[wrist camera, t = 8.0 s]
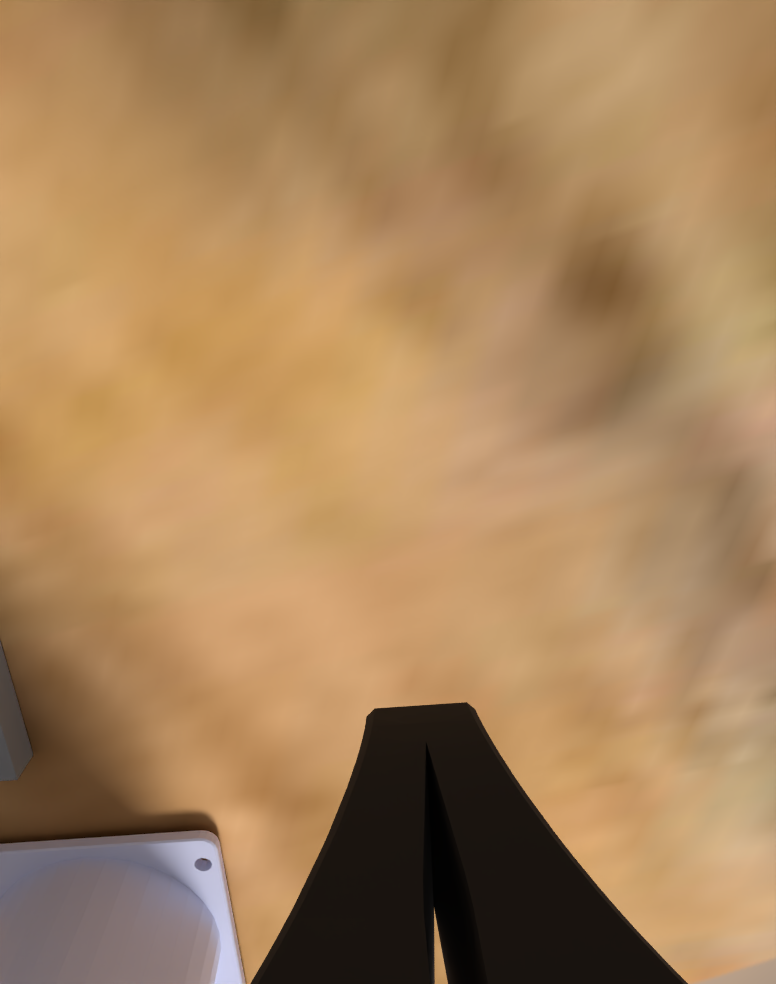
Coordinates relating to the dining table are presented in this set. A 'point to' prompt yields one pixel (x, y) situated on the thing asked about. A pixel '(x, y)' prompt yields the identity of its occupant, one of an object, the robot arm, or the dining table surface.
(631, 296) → the dining table surface
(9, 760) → the board
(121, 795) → the dining table surface
